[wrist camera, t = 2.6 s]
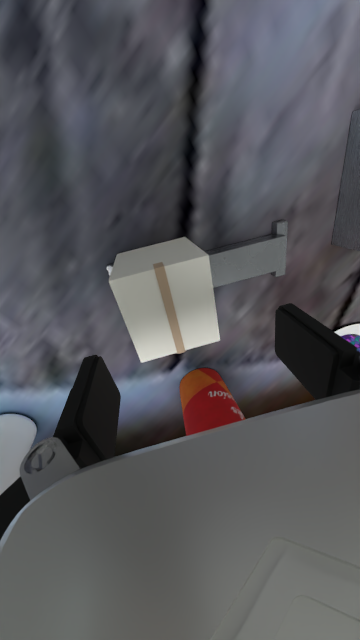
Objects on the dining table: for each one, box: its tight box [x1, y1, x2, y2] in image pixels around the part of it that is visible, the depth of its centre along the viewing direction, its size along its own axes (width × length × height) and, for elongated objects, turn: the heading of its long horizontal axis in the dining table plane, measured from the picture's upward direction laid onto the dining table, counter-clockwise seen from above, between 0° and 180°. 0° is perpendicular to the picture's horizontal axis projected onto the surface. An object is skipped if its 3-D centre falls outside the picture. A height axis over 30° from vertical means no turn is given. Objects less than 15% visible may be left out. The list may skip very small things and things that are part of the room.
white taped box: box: [109, 237, 220, 363], centre depth 17 cm, size 6×6×7 cm
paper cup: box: [180, 368, 245, 436], centre depth 22 cm, size 8×8×14 cm
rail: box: [107, 220, 288, 288], centre depth 20 cm, size 5×16×2 cm, turn 102°
